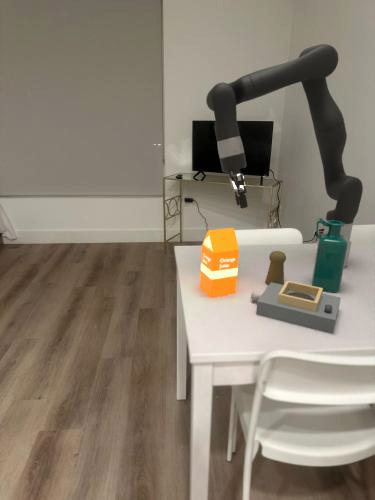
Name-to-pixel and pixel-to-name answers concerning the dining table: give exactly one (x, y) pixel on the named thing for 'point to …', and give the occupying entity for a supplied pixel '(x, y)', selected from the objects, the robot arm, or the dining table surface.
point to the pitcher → (329, 257)
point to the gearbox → (298, 305)
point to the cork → (276, 268)
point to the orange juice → (219, 263)
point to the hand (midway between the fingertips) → (242, 206)
